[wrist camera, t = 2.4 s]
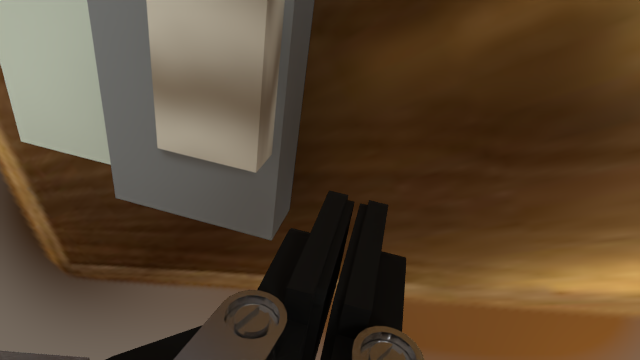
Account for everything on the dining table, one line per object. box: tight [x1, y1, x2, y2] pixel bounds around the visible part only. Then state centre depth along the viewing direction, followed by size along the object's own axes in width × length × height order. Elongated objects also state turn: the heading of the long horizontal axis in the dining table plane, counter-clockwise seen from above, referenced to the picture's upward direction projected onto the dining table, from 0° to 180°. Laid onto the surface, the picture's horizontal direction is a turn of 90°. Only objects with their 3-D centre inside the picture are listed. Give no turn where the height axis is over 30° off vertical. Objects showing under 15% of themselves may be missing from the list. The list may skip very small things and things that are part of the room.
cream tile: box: [146, 0, 285, 173], centre depth 21 cm, size 9×6×2 cm, turn 172°
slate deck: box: [87, 0, 314, 240], centre depth 24 cm, size 22×12×4 cm, turn 172°
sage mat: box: [0, 0, 111, 165], centre depth 28 cm, size 22×12×1 cm, turn 172°
